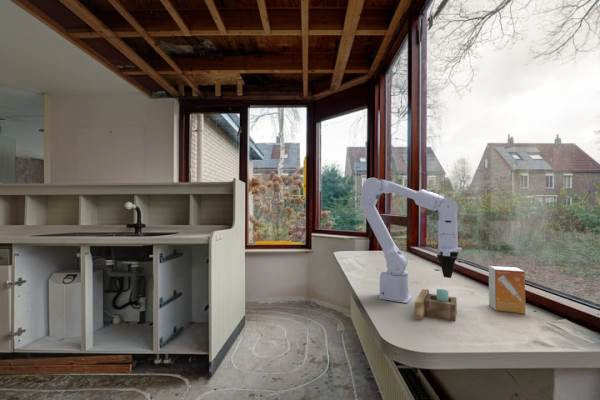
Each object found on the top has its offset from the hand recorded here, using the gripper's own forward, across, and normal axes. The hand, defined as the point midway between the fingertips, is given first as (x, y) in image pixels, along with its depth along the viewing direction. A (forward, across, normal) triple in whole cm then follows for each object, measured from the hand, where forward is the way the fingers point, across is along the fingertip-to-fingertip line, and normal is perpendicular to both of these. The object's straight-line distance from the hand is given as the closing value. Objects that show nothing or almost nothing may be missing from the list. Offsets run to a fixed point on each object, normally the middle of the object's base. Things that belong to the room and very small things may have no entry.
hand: (448, 275), depth 94 cm
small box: (+10, +6, -16) cm, 20 cm away
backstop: (+10, -11, +6) cm, 16 cm away
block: (+10, -10, +1) cm, 14 cm away
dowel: (+10, -10, +1) cm, 14 cm away
